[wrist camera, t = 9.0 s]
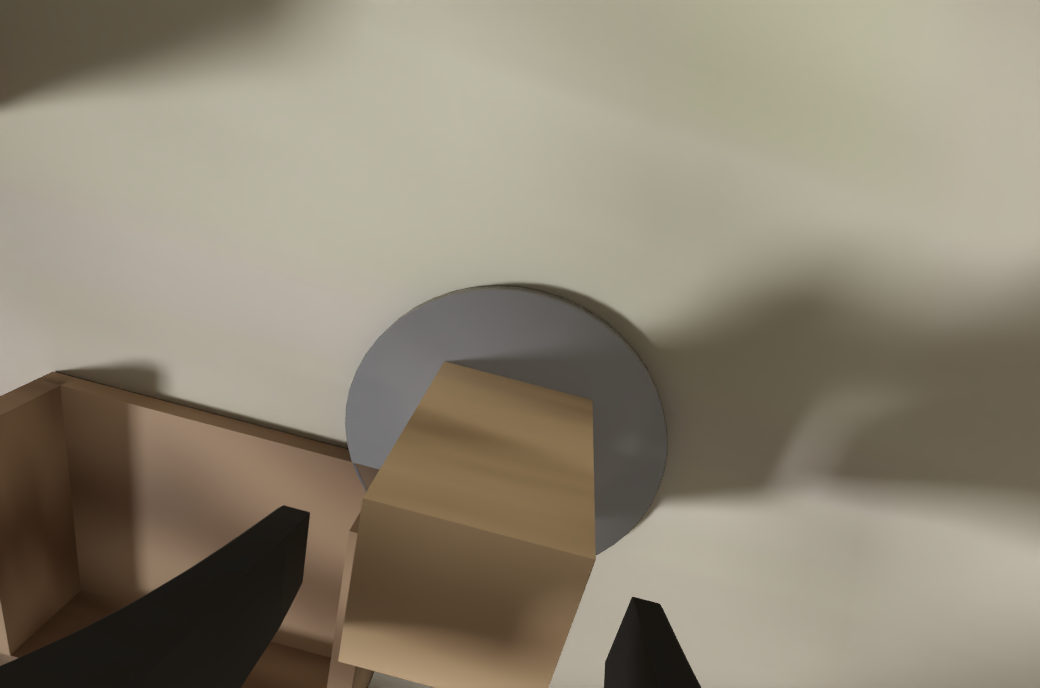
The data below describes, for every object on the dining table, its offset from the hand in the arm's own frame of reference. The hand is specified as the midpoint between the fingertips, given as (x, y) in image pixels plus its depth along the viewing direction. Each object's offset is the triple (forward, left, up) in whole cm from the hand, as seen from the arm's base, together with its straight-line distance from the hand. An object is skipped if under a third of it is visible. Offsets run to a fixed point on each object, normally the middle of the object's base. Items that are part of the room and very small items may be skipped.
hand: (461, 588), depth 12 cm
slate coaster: (0, 0, -6) cm, 6 cm away
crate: (-7, +9, -6) cm, 13 cm away
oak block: (0, 0, -6) cm, 6 cm away
